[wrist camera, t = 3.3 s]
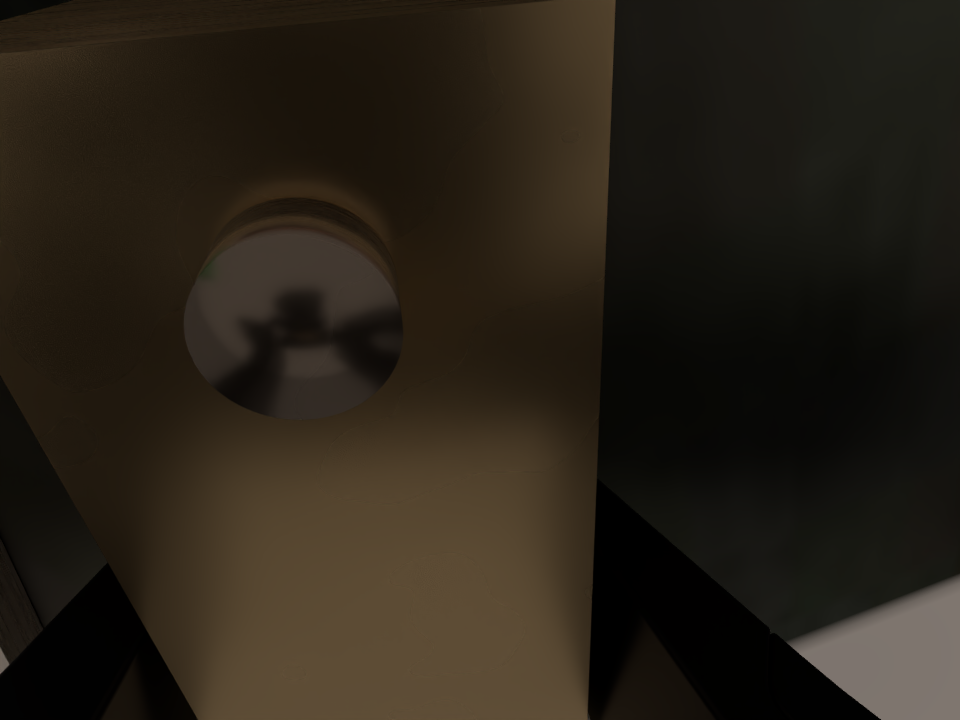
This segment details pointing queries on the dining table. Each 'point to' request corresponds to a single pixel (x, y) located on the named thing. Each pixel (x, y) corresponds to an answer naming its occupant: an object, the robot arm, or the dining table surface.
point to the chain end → (14, 613)
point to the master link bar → (321, 336)
